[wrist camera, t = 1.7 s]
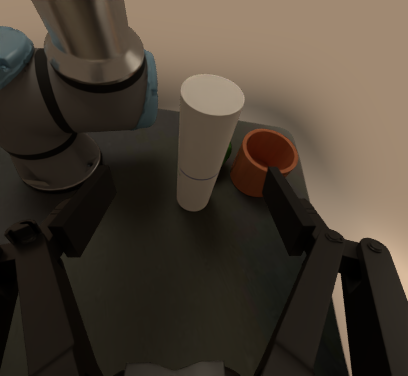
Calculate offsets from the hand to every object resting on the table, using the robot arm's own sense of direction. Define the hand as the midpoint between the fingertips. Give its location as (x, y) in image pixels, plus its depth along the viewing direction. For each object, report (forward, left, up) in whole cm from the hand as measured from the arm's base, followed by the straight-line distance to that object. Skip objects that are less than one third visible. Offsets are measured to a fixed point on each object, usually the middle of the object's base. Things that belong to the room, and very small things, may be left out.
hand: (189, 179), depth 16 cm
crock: (-6, +23, -24) cm, 34 cm away
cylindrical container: (-8, +7, -24) cm, 27 cm away
